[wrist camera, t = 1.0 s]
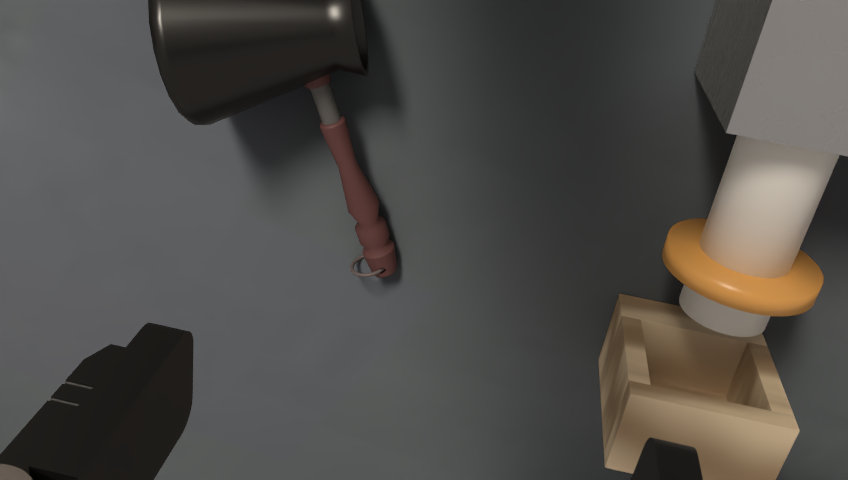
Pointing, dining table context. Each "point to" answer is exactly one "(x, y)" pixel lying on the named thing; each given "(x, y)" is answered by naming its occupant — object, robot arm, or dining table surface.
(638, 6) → the dining table surface
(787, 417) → the socket
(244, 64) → the coffee pot
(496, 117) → the dining table surface
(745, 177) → the tube
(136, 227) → the dining table surface
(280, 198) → the dining table surface
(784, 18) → the grey block
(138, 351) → the robot arm
